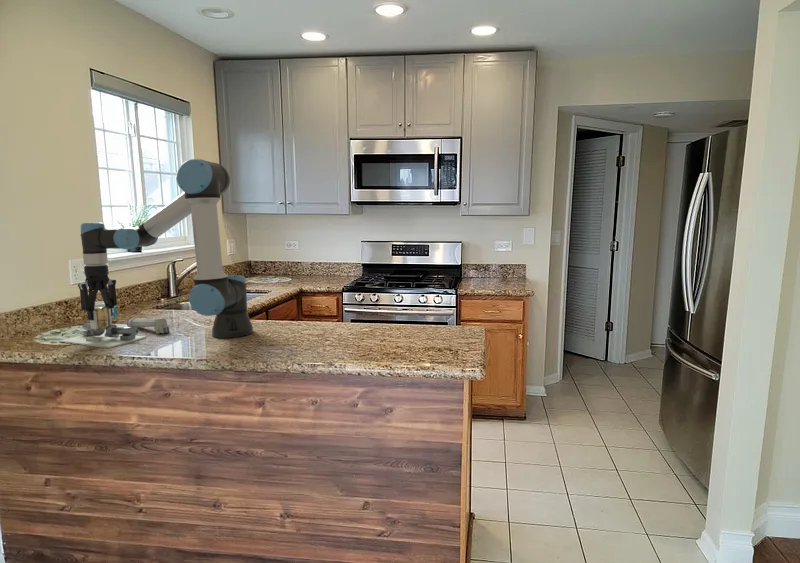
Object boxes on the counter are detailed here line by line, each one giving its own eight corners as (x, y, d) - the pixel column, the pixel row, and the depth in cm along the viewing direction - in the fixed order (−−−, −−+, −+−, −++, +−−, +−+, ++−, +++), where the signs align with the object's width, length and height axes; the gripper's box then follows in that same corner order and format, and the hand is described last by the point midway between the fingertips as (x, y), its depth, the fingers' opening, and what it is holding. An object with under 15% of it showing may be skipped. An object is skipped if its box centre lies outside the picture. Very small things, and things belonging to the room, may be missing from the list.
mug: (98, 319, 223) (96, 301, 221) (122, 319, 221) (120, 301, 220) (84, 323, 215) (82, 304, 213) (108, 323, 213) (107, 304, 212)
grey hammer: (136, 317, 207) (170, 314, 194) (139, 332, 208) (173, 331, 194) (124, 319, 203) (158, 316, 189) (126, 335, 203) (160, 333, 190)
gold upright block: (103, 326, 186) (101, 306, 185) (112, 328, 184) (110, 307, 183) (90, 329, 181) (88, 308, 180) (99, 331, 179) (97, 309, 178)
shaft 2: (106, 340, 180) (105, 326, 180) (115, 337, 185) (114, 323, 184) (132, 340, 179) (131, 326, 178) (140, 337, 184) (139, 323, 183)
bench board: (145, 338, 185) (145, 334, 185) (109, 348, 171) (109, 343, 171) (97, 333, 195) (96, 329, 194) (59, 342, 181) (58, 338, 181)
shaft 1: (105, 336, 187) (104, 322, 186) (92, 338, 183) (90, 324, 182) (94, 332, 193) (92, 319, 192) (80, 335, 189) (79, 321, 188)
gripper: (111, 262, 189) (116, 321, 192) (64, 266, 172) (70, 331, 175) (125, 262, 186) (130, 322, 189) (79, 267, 170) (85, 333, 173)
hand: (101, 326), depth 182 cm, fingers closed on gold upright block, 5 cm apart
